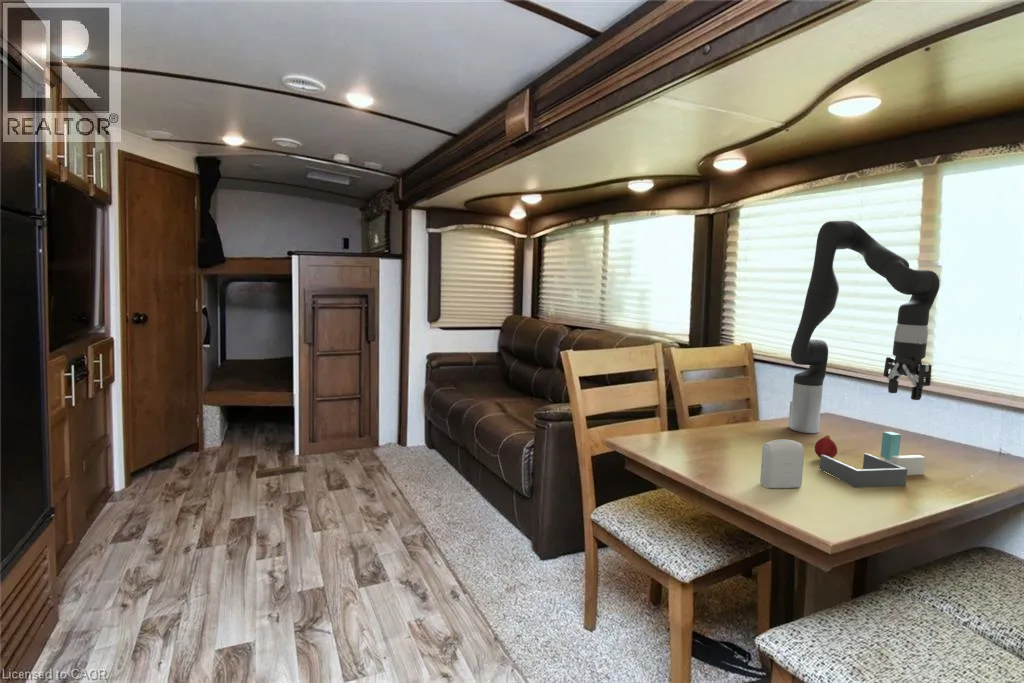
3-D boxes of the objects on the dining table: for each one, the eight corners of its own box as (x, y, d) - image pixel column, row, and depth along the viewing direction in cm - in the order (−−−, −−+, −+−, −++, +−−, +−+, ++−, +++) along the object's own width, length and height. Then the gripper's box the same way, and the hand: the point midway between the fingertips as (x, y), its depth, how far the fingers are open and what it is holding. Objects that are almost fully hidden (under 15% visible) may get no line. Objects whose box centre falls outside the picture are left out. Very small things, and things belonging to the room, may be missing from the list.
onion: (813, 462, 157) (816, 435, 156) (813, 456, 162) (815, 431, 161) (836, 465, 154) (839, 439, 153) (835, 460, 159) (837, 434, 158)
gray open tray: (819, 470, 150) (820, 454, 149) (865, 468, 152) (867, 453, 152) (855, 487, 137) (857, 470, 137) (905, 485, 139) (907, 469, 139)
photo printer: (766, 489, 134) (770, 442, 133) (756, 483, 139) (760, 437, 137) (804, 489, 135) (808, 442, 134) (793, 482, 140) (797, 437, 138)
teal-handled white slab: (870, 465, 155) (874, 432, 154) (897, 464, 157) (900, 431, 156) (895, 475, 147) (899, 440, 146) (923, 474, 148) (927, 439, 147)
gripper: (879, 337, 157) (873, 390, 159) (917, 343, 142) (910, 401, 144) (903, 337, 157) (897, 391, 159) (944, 343, 143) (937, 402, 145)
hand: (903, 396), depth 152 cm, fingers open, 8 cm apart
